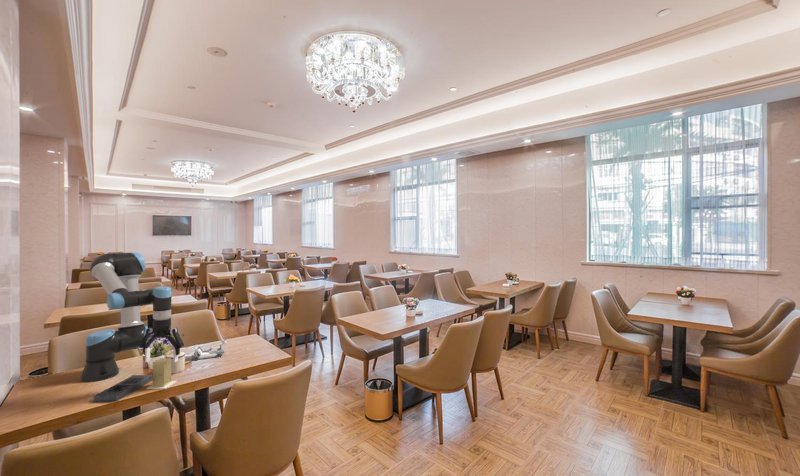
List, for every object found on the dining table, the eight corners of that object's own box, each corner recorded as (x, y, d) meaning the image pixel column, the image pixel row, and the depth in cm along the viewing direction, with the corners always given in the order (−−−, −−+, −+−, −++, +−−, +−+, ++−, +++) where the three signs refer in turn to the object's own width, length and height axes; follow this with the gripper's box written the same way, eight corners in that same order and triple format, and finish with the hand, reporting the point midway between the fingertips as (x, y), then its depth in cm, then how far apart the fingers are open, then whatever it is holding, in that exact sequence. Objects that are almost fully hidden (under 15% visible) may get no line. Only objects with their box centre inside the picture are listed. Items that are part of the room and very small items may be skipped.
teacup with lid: (184, 366, 198) (184, 346, 198) (185, 371, 191) (185, 350, 191) (158, 371, 191) (158, 350, 191) (159, 377, 184) (159, 354, 184)
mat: (146, 389, 168) (146, 388, 168) (158, 381, 177) (158, 380, 177) (165, 389, 169) (165, 388, 169) (176, 381, 178) (176, 380, 178)
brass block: (152, 386, 170) (152, 362, 170) (159, 382, 176) (159, 358, 176) (164, 386, 170) (164, 362, 170) (171, 382, 176) (171, 358, 176)
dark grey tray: (93, 401, 156) (93, 396, 156) (132, 380, 180) (132, 375, 180) (116, 401, 156) (116, 395, 156) (152, 379, 180) (152, 374, 180)
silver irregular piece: (226, 336, 226) (226, 341, 216) (226, 351, 226) (226, 357, 216) (194, 340, 218) (192, 345, 208) (194, 356, 218) (192, 361, 208)
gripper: (130, 320, 169) (130, 364, 169) (183, 320, 170) (182, 364, 170) (141, 316, 177) (141, 358, 177) (192, 316, 177) (191, 358, 178)
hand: (161, 361), depth 173 cm, fingers open, 13 cm apart
